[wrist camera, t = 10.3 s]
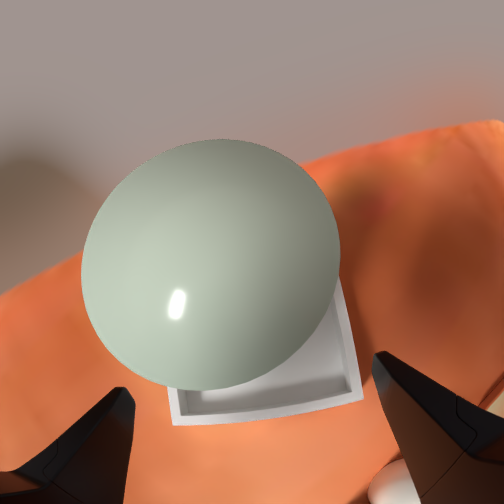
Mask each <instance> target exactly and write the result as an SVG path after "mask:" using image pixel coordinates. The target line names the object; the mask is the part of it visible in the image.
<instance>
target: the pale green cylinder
mask: <svg viewBox="0 0 504 504" xmlns="http://www.w3.org/2000/svg"><path fill="white" fill-rule="evenodd" d="M339 267H340V239H339V233H338V228H337V223H336V220H335V217H334V215H333V212H332V209H331V206H330V205H329V203H328V201H327V199H326V197H325V195H324V193H323V192H322V190H321V189H320V188H319V186H318V185H317V184H316V182H315V181H314V180H313V179H312V178H311V177H310V176H309V175H308V174H307V172H306V171H305V170H304V169H302V168H301V167H300V166H299V165H297V164H296V163H295V162H293V161H292V160H291V159H289V158H287V157H285V156H284V155H282V154H280V153H279V152H276V151H274V150H272V149H269V148H267V147H265V146H261V145H257V144H254V143H251V142H245V141H239V140H227V139H217V140H205V141H198V142H193V143H189V144H185V145H181V146H178V147H175V148H173V149H170V150H168V151H165V152H163V153H161V154H159V155H157V156H155V157H153V158H152V159H150V160H148V161H147V162H145V163H143V164H142V165H140V166H139V167H138V168H136V169H135V170H134V171H133V172H131V173H130V174H129V175H128V176H127V177H126V178H125V179H124V180H123V181H122V182H120V183H119V184H118V186H117V187H116V188H115V189H114V190H113V191H112V193H111V194H110V195H109V197H108V198H107V199H106V201H105V202H104V203H103V205H102V206H101V208H100V210H99V212H98V213H97V215H96V217H95V219H94V221H93V224H92V226H91V228H90V231H89V233H88V237H87V240H86V243H85V247H84V252H83V258H82V270H81V281H82V293H83V298H84V302H85V307H86V310H87V313H88V316H89V318H90V321H91V323H92V325H93V327H94V329H95V331H96V333H97V335H98V337H99V338H100V339H101V341H102V342H103V344H104V345H105V346H106V348H107V349H108V350H109V351H110V352H111V353H112V354H113V355H114V356H115V357H116V358H117V359H118V360H119V361H120V362H121V363H122V364H124V365H125V366H126V367H128V368H129V369H130V370H132V371H133V372H135V373H136V374H138V375H140V376H142V377H144V378H146V379H148V380H150V381H152V382H155V383H158V384H161V385H164V386H167V387H171V388H177V389H182V390H196V391H208V390H216V389H224V388H229V387H233V386H236V385H240V384H243V383H247V382H249V381H251V380H253V379H256V378H258V377H260V376H262V375H264V374H267V373H268V372H270V371H271V370H273V369H274V368H276V367H277V366H279V365H280V364H282V363H284V362H285V361H286V360H287V359H288V358H290V357H291V356H292V355H293V354H294V353H295V352H296V351H297V350H299V349H300V348H301V347H302V346H303V344H304V343H305V342H306V341H307V340H308V339H309V337H310V336H311V335H312V334H313V333H314V331H315V330H316V328H317V327H318V325H319V323H320V322H321V320H322V318H323V317H324V315H325V314H326V311H327V309H328V307H329V304H330V302H331V300H332V297H333V295H334V291H335V288H336V284H337V280H338V276H339Z"/></svg>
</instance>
